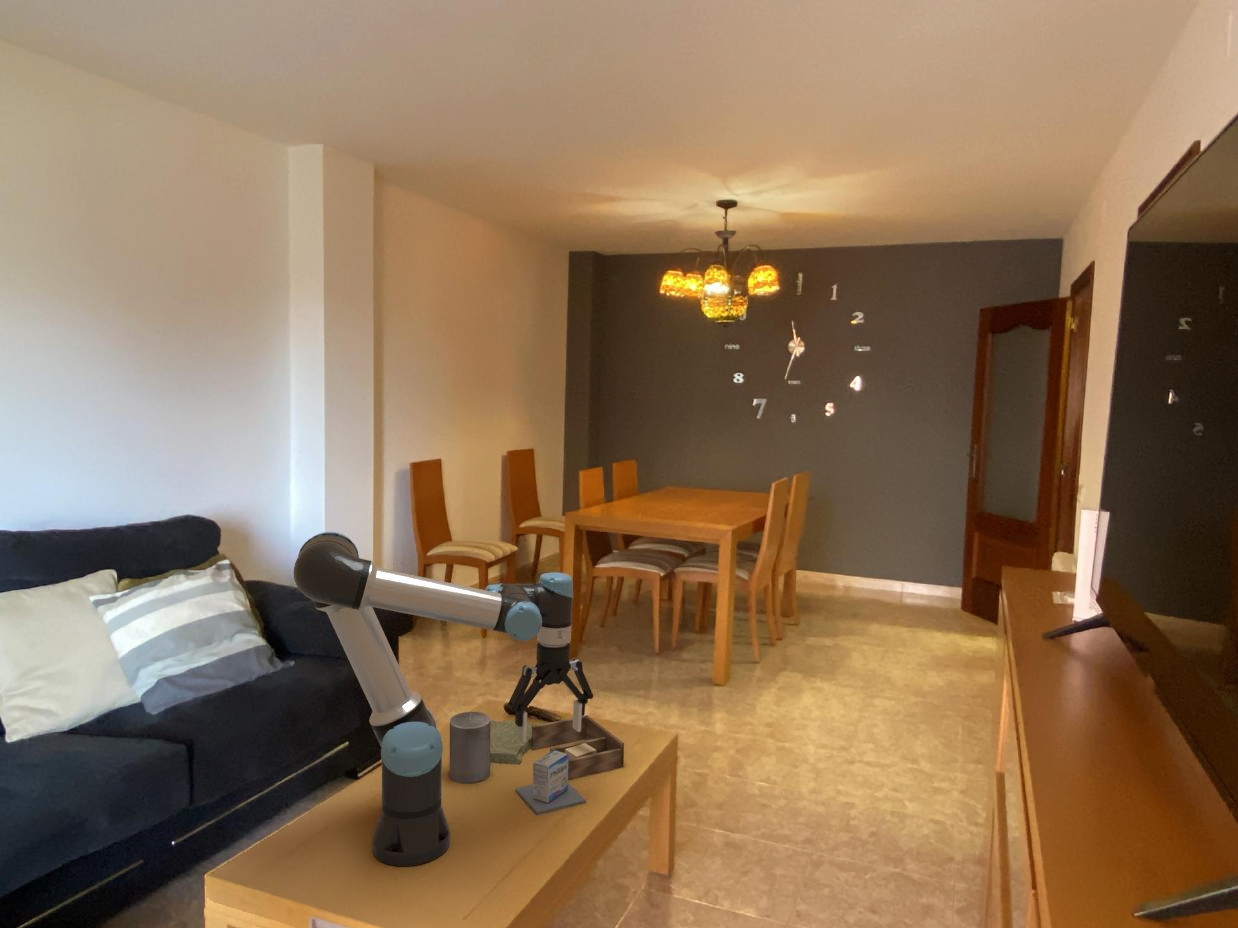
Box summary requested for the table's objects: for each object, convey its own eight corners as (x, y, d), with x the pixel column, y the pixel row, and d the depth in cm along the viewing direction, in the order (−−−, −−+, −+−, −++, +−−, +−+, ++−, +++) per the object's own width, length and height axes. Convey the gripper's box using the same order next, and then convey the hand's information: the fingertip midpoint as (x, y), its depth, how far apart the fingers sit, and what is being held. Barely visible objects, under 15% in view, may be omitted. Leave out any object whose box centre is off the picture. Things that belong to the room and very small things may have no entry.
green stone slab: (450, 761, 207) (451, 748, 207) (473, 729, 227) (473, 716, 227) (524, 767, 205) (525, 753, 205) (540, 734, 225) (541, 721, 225)
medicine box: (548, 804, 185) (549, 766, 185) (532, 798, 188) (532, 761, 187) (568, 789, 192) (569, 753, 191) (552, 784, 194) (553, 748, 194)
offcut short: (576, 766, 201) (576, 756, 201) (564, 758, 205) (565, 749, 205) (596, 759, 205) (596, 749, 205) (584, 752, 209) (584, 742, 208)
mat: (537, 814, 182) (537, 812, 182) (515, 790, 192) (515, 788, 192) (585, 802, 188) (586, 799, 188) (562, 779, 198) (562, 777, 198)
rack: (565, 780, 198) (565, 755, 197) (531, 748, 215) (531, 725, 214) (623, 766, 206) (624, 743, 205) (586, 736, 223) (587, 715, 222)
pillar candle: (460, 762, 206) (460, 703, 204) (497, 768, 203) (497, 708, 202) (441, 780, 196) (441, 719, 195) (480, 786, 194) (480, 724, 192)
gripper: (508, 653, 177) (504, 750, 179) (610, 641, 190) (606, 731, 192) (495, 643, 184) (491, 737, 185) (594, 632, 196) (590, 719, 198)
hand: (549, 734), depth 188 cm, fingers open, 13 cm apart
